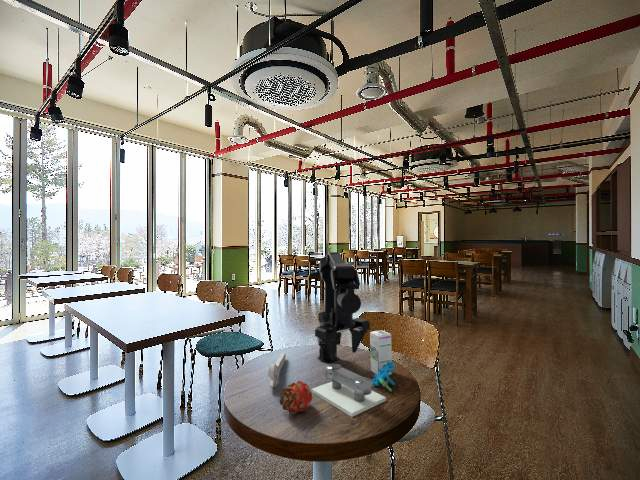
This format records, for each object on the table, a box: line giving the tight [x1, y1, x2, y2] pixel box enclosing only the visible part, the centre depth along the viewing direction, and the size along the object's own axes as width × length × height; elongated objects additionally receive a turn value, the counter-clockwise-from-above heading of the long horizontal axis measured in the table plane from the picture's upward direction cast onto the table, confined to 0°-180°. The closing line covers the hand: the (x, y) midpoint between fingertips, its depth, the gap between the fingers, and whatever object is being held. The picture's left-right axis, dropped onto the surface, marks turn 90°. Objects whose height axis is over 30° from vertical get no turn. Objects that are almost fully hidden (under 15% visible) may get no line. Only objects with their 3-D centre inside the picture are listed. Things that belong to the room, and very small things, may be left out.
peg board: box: [311, 379, 387, 418], centre depth 97 cm, size 14×18×4 cm
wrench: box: [267, 352, 286, 388], centre depth 113 cm, size 8×2×30 cm
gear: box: [371, 360, 396, 392], centre depth 105 cm, size 11×6×10 cm
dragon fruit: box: [279, 380, 313, 416], centre depth 90 cm, size 8×8×12 cm
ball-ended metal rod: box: [325, 363, 373, 395], centre depth 98 cm, size 5×18×3 cm, turn 39°
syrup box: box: [369, 329, 393, 376], centre depth 115 cm, size 6×6×14 cm
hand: (343, 355), depth 100 cm, fingers open, 9 cm apart
